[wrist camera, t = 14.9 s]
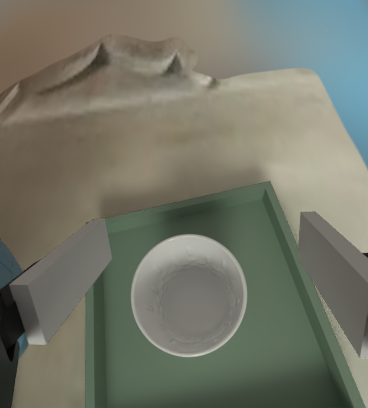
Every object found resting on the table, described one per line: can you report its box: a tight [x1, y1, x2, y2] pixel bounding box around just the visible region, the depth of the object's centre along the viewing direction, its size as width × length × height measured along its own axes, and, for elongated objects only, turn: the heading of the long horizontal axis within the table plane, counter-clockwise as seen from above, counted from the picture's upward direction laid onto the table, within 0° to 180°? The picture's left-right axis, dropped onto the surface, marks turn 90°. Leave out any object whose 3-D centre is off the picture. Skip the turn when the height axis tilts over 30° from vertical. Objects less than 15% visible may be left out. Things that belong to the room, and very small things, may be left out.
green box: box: [85, 181, 366, 408], centre depth 25 cm, size 22×22×4 cm
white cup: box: [131, 234, 247, 357], centre depth 21 cm, size 8×8×10 cm
